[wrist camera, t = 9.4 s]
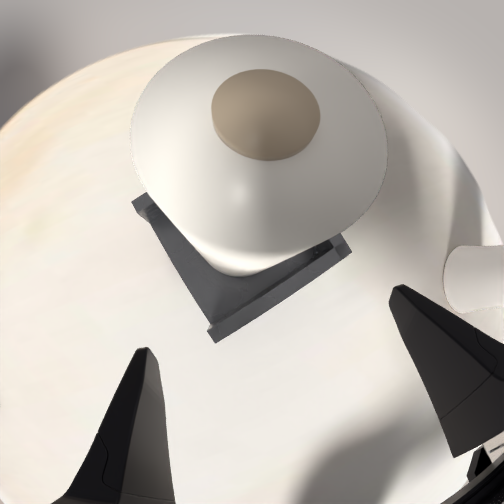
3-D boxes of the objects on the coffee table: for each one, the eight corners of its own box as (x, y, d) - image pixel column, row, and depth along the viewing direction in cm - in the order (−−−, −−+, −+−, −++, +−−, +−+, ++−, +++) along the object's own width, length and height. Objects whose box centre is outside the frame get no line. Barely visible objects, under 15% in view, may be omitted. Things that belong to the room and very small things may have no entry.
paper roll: (296, 227, 18) (422, 114, 5) (248, 294, 17) (306, 316, 4) (231, 180, 18) (240, 5, 5) (181, 243, 17) (75, 141, 4)
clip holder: (259, 152, 19) (265, 126, 16) (330, 258, 19) (352, 252, 15) (148, 216, 18) (131, 201, 15) (217, 332, 18) (215, 343, 14)
